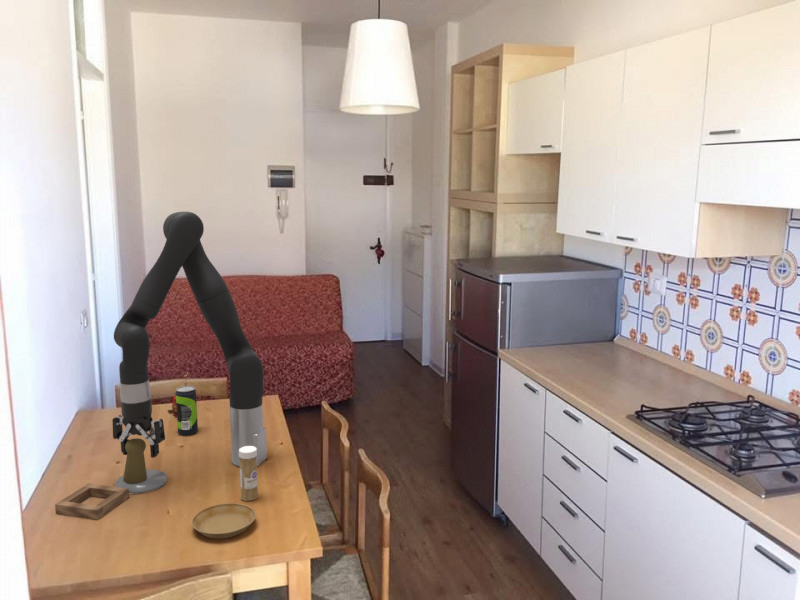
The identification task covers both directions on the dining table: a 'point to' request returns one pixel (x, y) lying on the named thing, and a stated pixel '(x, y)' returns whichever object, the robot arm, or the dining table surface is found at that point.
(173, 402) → the red clay folk toy
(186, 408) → the beverage can
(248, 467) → the sprinkles bottle
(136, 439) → the cork
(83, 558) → the dining table surface
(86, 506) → the holder board
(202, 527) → the plant saucer
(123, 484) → the slate coaster
